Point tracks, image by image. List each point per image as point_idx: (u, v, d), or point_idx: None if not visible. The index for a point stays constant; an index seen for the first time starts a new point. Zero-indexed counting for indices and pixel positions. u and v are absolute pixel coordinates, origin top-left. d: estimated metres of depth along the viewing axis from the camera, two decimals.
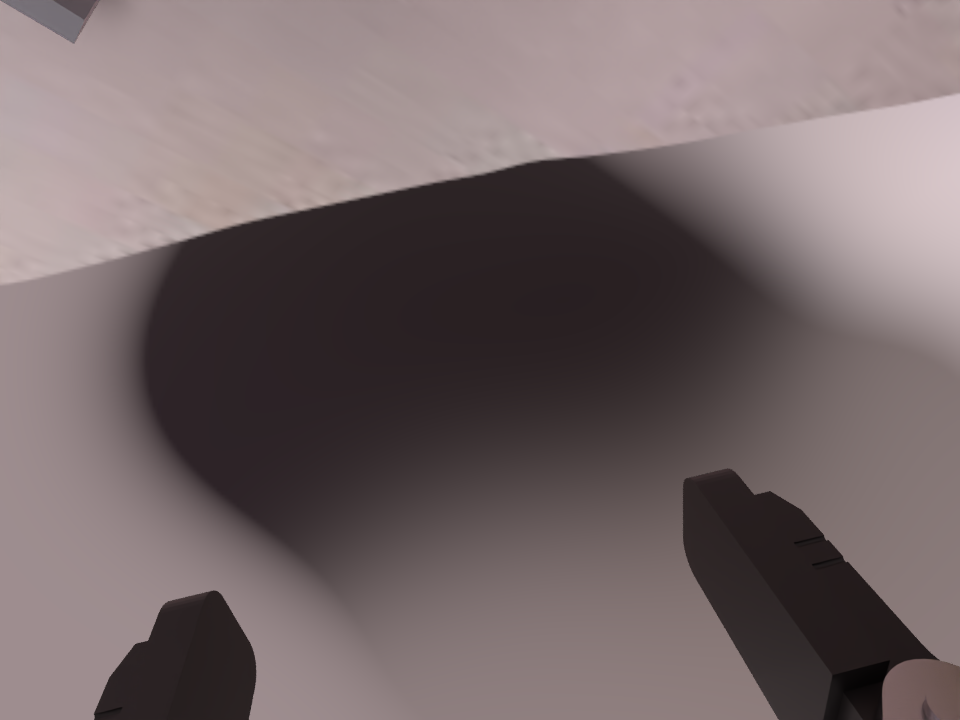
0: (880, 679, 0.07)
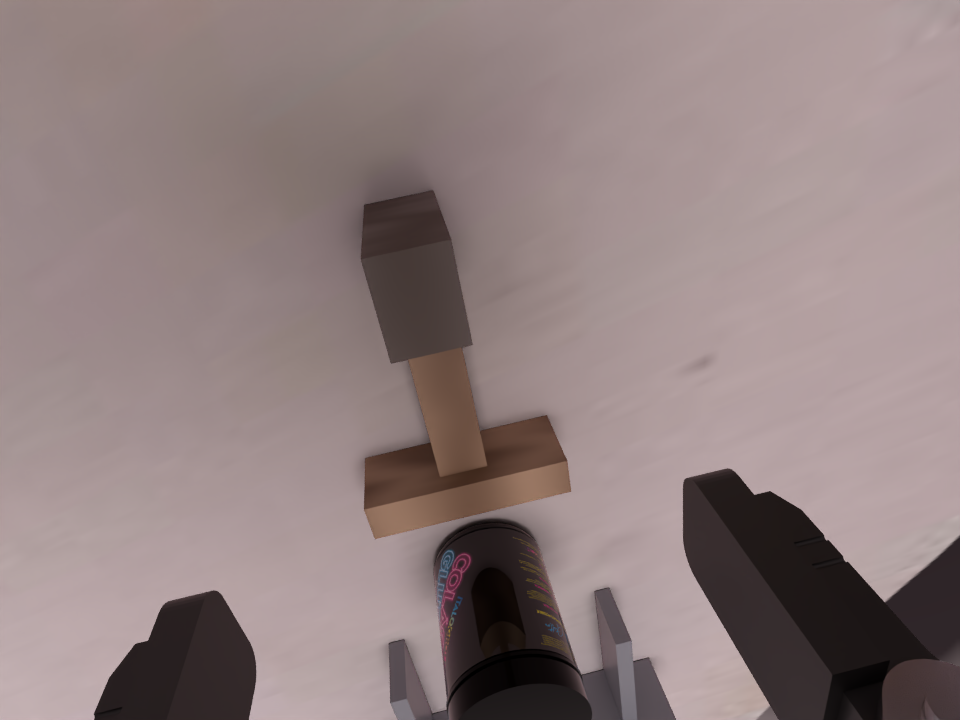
0: (880, 679, 0.07)
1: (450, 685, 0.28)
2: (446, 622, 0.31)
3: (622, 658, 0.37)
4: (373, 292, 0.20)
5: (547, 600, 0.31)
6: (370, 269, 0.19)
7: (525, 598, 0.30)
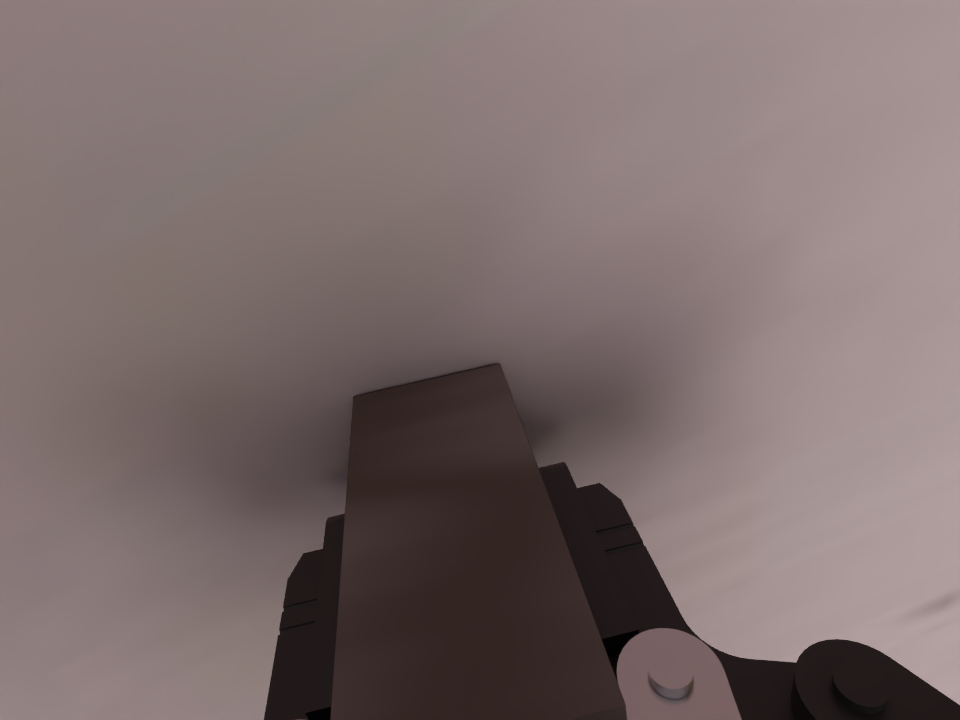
0: None
1: None
2: None
3: None
4: None
5: None
6: None
7: None
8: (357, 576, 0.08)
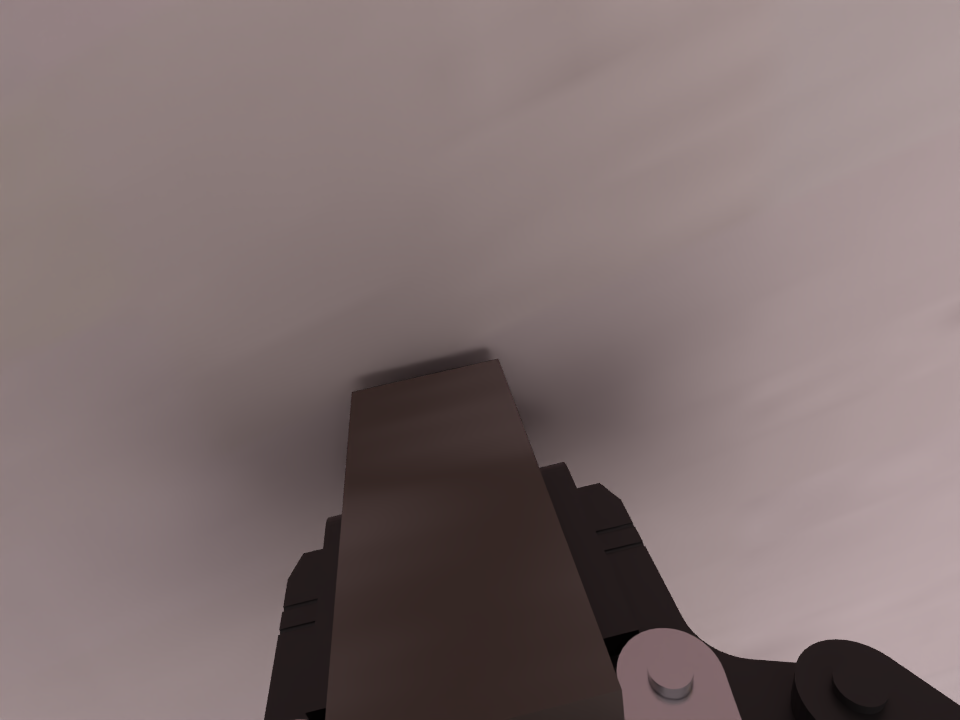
0: None
1: None
2: None
3: None
4: None
5: None
6: None
7: None
8: (354, 566, 0.08)
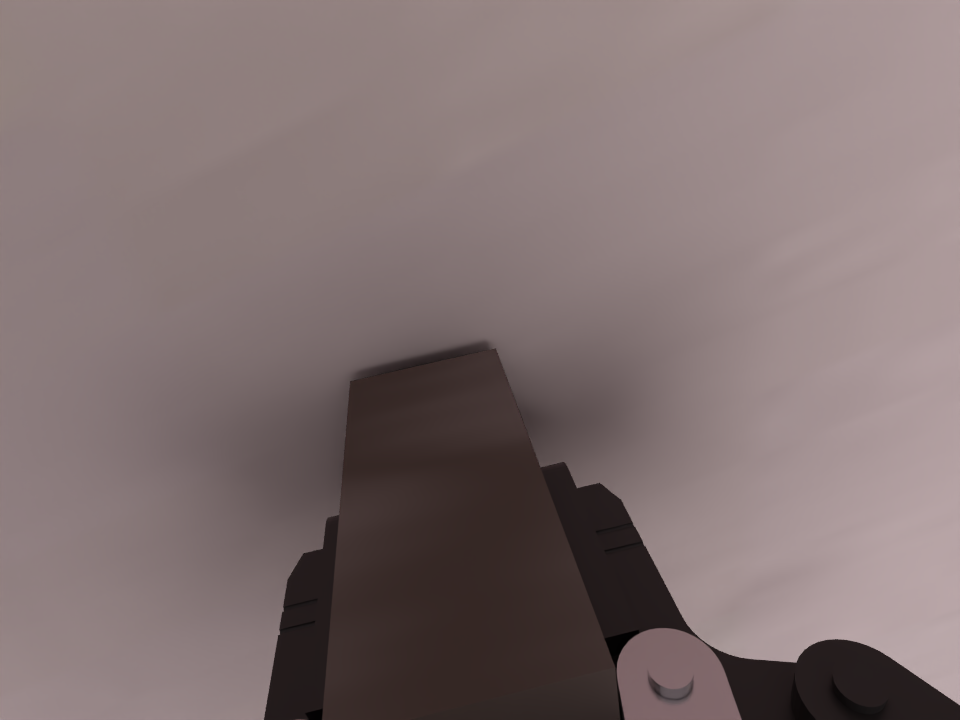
0: None
1: None
2: None
3: None
4: None
5: None
6: None
7: None
8: (353, 550, 0.08)
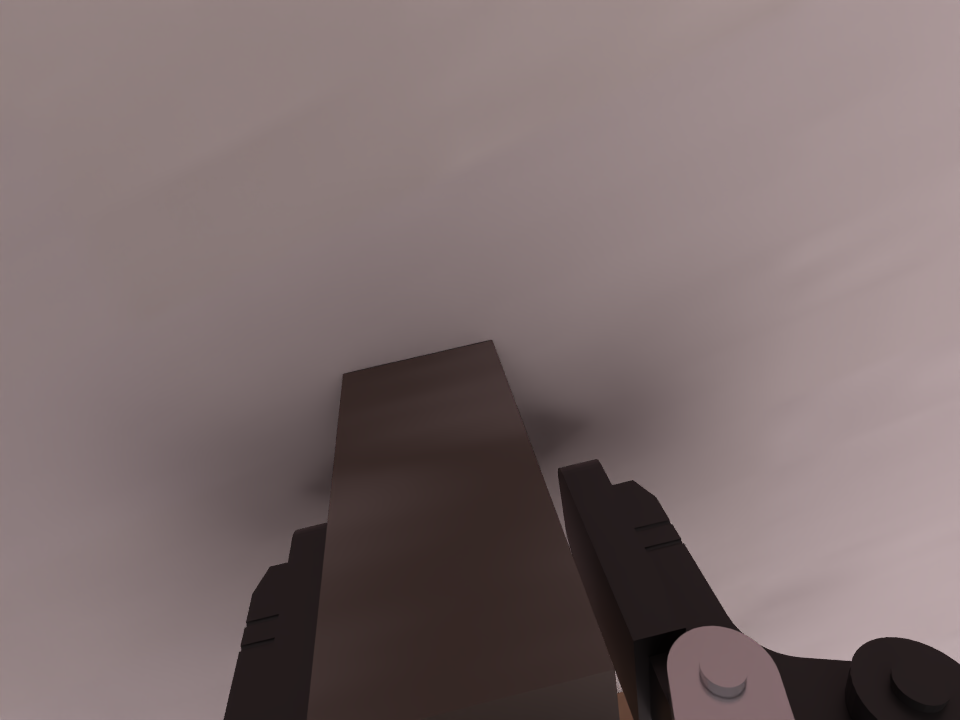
0: None
1: None
2: None
3: None
4: None
5: None
6: None
7: None
8: (342, 547, 0.08)
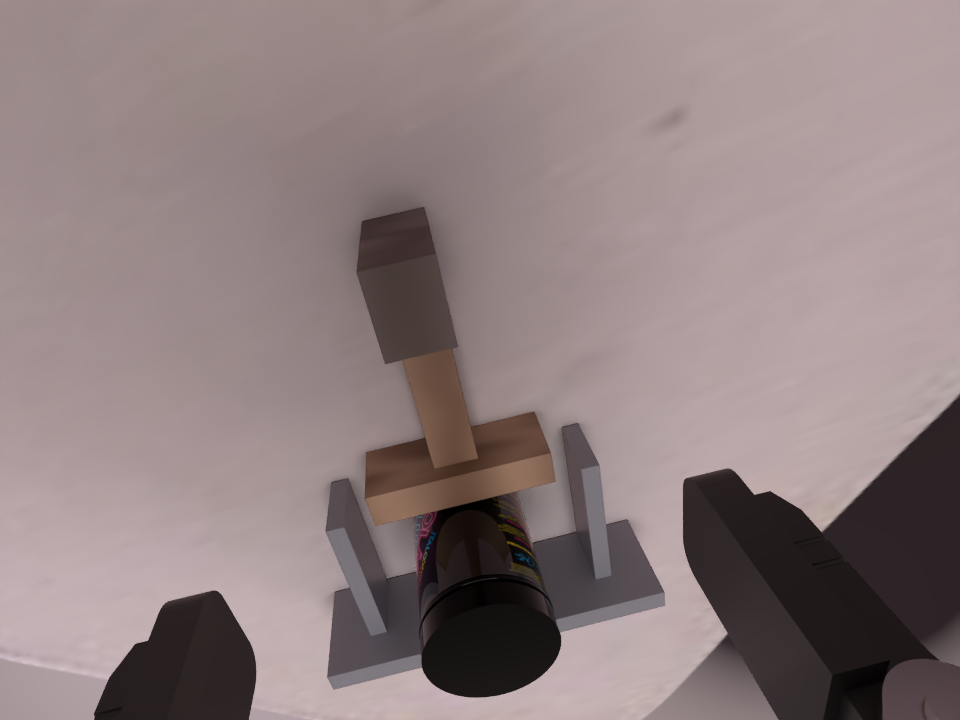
0: (880, 679, 0.07)
1: (422, 613, 0.29)
2: (420, 558, 0.32)
3: (589, 488, 0.32)
4: (368, 301, 0.22)
5: (519, 534, 0.31)
6: (364, 281, 0.22)
7: (496, 530, 0.30)
8: (364, 250, 0.24)
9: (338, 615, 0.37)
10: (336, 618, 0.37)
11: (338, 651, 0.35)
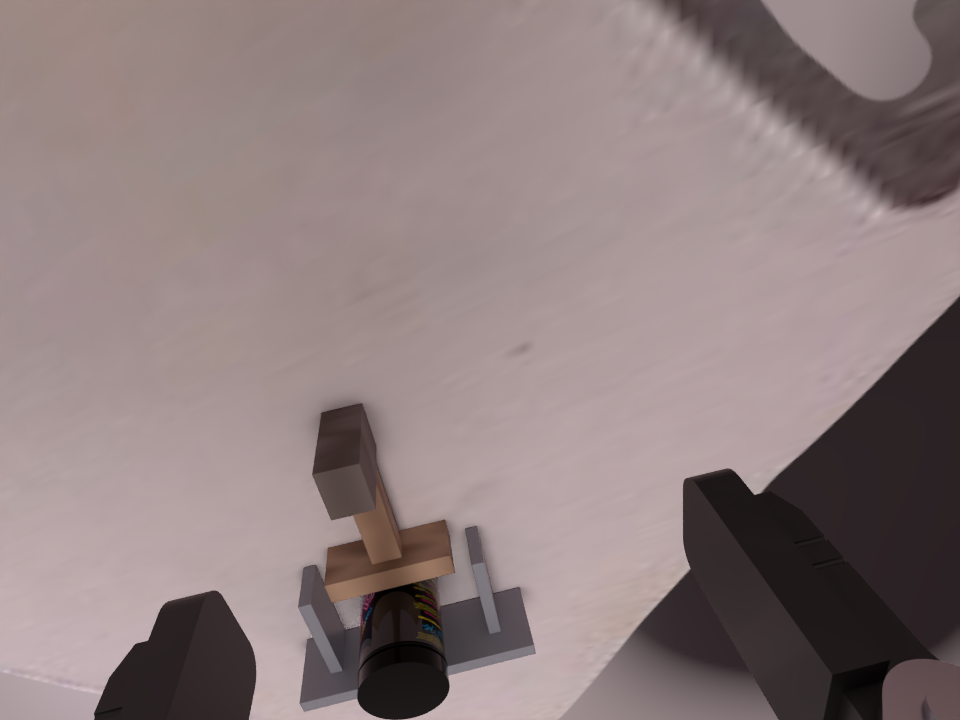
0: (880, 679, 0.07)
1: (359, 665, 0.44)
2: (362, 624, 0.47)
3: (478, 576, 0.48)
4: (319, 488, 0.38)
5: (429, 608, 0.47)
6: (317, 478, 0.37)
7: (411, 608, 0.46)
8: (319, 450, 0.39)
9: (309, 657, 0.52)
10: (307, 660, 0.52)
11: (307, 684, 0.50)
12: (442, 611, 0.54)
